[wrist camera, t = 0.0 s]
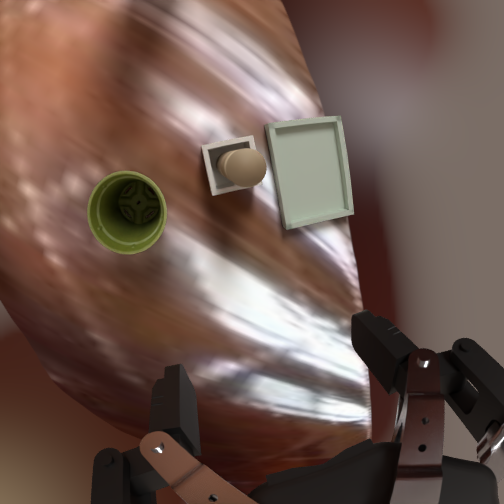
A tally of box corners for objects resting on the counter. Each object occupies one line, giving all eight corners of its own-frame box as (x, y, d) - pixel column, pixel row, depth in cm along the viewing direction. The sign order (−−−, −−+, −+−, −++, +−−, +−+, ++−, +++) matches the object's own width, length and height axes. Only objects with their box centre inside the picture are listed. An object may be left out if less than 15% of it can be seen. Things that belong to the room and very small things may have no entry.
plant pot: (141, 153, 34) (126, 152, 26) (186, 202, 38) (184, 215, 30) (96, 201, 35) (72, 213, 27) (140, 247, 38) (127, 270, 30)
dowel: (213, 154, 35) (223, 152, 22) (238, 149, 36) (262, 145, 23) (218, 179, 37) (231, 191, 24) (243, 173, 37) (269, 183, 24)
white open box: (201, 147, 35) (201, 145, 31) (245, 138, 36) (252, 135, 32) (210, 191, 38) (212, 195, 33) (254, 181, 38) (262, 184, 34)
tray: (264, 124, 36) (267, 123, 34) (334, 117, 37) (340, 115, 35) (282, 226, 41) (286, 229, 40) (347, 211, 43) (353, 214, 41)
